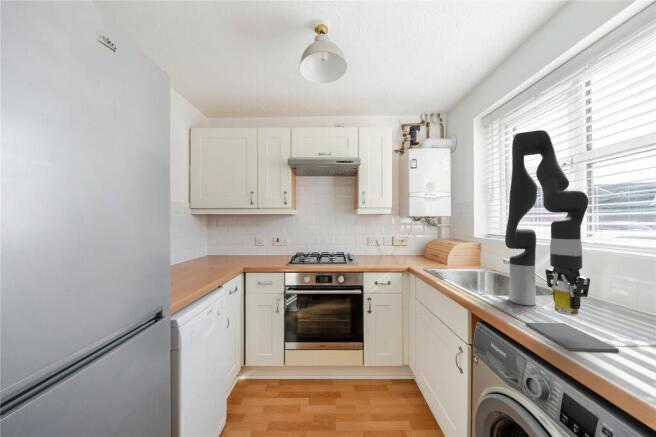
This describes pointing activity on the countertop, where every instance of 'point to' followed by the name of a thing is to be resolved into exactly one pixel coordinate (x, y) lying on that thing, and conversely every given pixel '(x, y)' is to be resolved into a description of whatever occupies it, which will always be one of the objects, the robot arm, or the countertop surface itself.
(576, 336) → the mat
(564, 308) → the supplement bottle
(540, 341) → the countertop surface
